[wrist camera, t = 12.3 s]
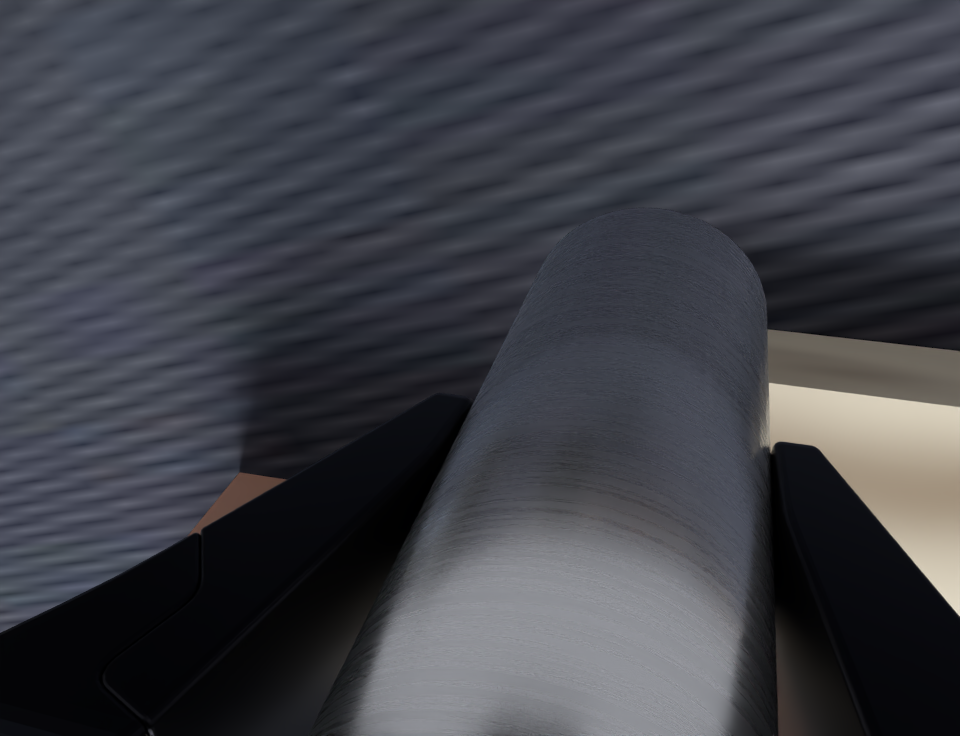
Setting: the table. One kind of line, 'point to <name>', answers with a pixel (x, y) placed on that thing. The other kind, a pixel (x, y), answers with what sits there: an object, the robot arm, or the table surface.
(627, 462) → the steel pin
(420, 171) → the table surface
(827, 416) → the pin board
